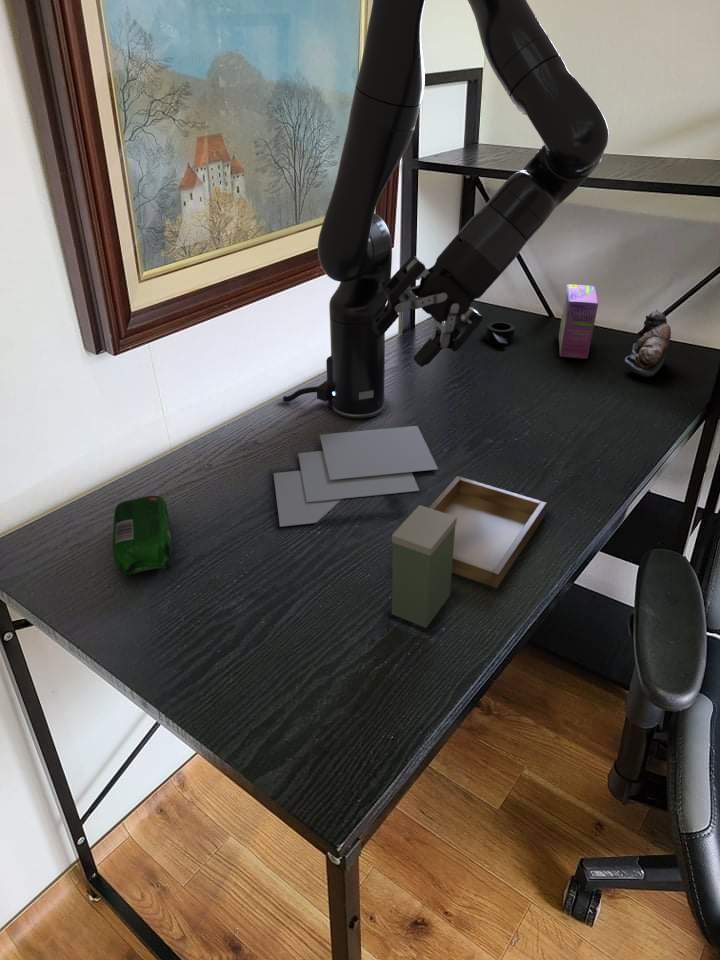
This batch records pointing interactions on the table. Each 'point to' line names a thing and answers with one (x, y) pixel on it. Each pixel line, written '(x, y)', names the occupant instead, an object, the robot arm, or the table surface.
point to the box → (577, 321)
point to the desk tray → (488, 527)
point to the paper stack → (351, 471)
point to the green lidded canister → (422, 565)
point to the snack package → (142, 535)
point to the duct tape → (500, 333)
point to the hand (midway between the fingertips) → (396, 348)
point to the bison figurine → (650, 346)
